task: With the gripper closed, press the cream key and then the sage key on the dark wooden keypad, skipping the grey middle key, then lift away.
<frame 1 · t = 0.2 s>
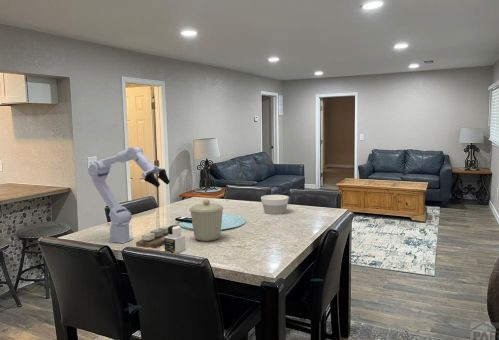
hand: (163, 184, 191), 31 cm above the table, tool tilted 45°, fingers open, 7 cm apart
bowl: (275, 212, 266), on the table
canister: (207, 239, 205), on the table
grey key: (156, 232, 203), point 4 cm above the table, slide at 0.0 cm
cream key: (148, 236, 197), point 4 cm above the table, slide at 0.0 cm
sage key: (164, 229, 209), point 4 cm above the table, slide at 0.0 cm
medicine bottle: (175, 251, 186), on the table
keypad board: (159, 241, 203), on the table
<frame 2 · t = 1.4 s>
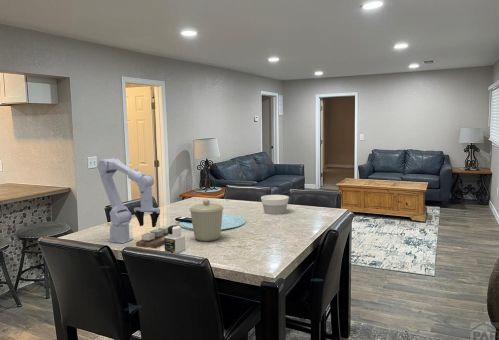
hand: (147, 226, 196), 9 cm above the table, tool pointing down, fingers open, 7 cm apart
nothing on the table moved.
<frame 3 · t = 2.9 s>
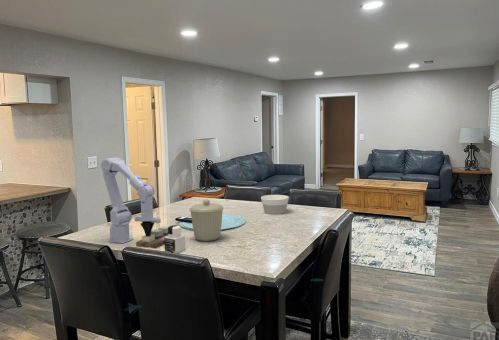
hand: (148, 236, 197), 4 cm above the table, tool pointing down, fingers closed, pressing on cream key
cream key: (148, 238, 197), point 3 cm above the table, slide at 0.9 cm, touching gripper
everything else where it was.
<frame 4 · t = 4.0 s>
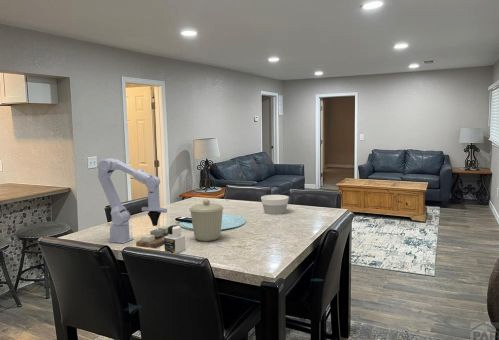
hand: (155, 225, 202), 8 cm above the table, tool pointing down, fingers closed
cream key: (148, 238, 197), point 3 cm above the table, slide at 0.9 cm
everything else where it was.
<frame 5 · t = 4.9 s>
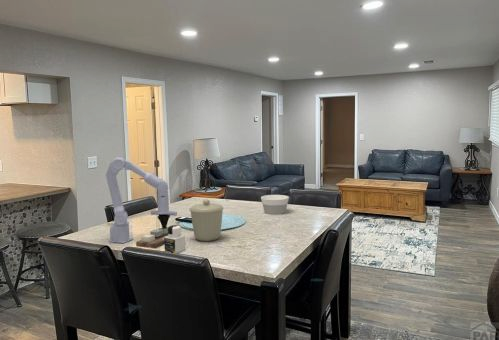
hand: (164, 228, 209), 5 cm above the table, tool pointing down, fingers closed, pressing on sage key
sage key: (164, 230, 209), point 4 cm above the table, slide at 0.4 cm, touching gripper
everything else where it was.
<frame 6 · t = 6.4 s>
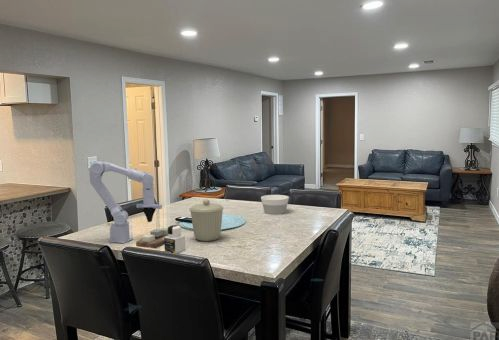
hand: (149, 221, 206), 9 cm above the table, tool pointing down, fingers closed
sage key: (164, 231, 210), point 3 cm above the table, slide at 0.9 cm
everything else where it was.
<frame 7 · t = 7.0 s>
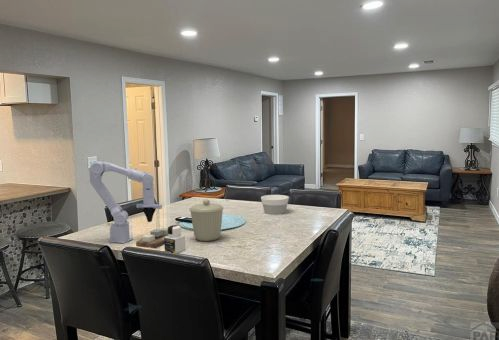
hand: (149, 221, 206), 9 cm above the table, tool pointing down, fingers closed
nothing on the table moved.
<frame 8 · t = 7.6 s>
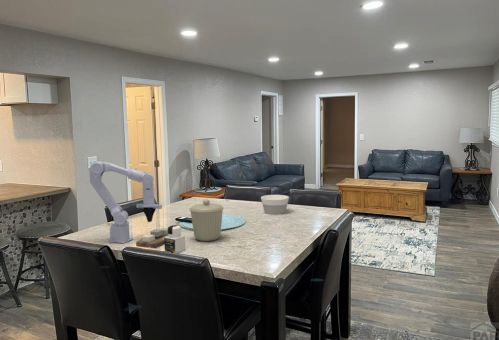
hand: (149, 221, 206), 9 cm above the table, tool pointing down, fingers closed
nothing on the table moved.
at the end: cream key slide at 0.9 cm; sage key slide at 0.9 cm; grey key slide at 0.0 cm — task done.
